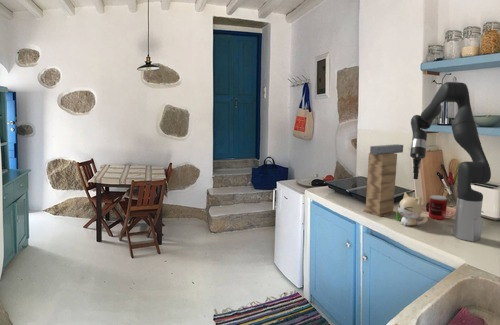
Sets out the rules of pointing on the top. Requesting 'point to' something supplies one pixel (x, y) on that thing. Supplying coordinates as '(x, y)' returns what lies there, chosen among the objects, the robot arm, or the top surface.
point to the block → (386, 149)
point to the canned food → (437, 207)
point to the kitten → (410, 210)
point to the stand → (381, 184)
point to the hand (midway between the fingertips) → (415, 176)
